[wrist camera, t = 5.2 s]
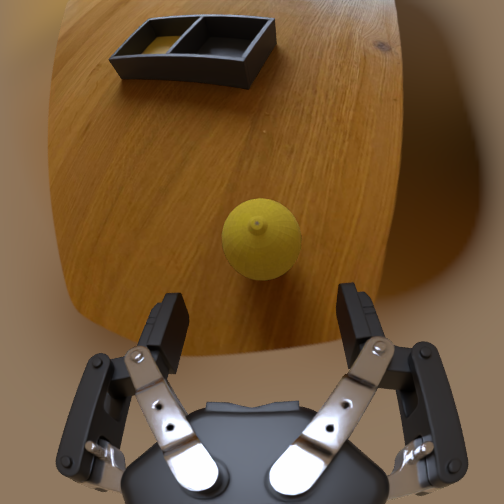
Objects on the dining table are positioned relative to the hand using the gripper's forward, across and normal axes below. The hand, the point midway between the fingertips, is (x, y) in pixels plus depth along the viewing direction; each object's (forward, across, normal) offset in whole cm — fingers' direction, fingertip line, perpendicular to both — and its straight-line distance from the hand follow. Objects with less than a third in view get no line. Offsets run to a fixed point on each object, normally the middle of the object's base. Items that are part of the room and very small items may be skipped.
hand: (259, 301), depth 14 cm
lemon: (+10, 0, +3) cm, 10 cm away
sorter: (+29, +8, -16) cm, 34 cm away
